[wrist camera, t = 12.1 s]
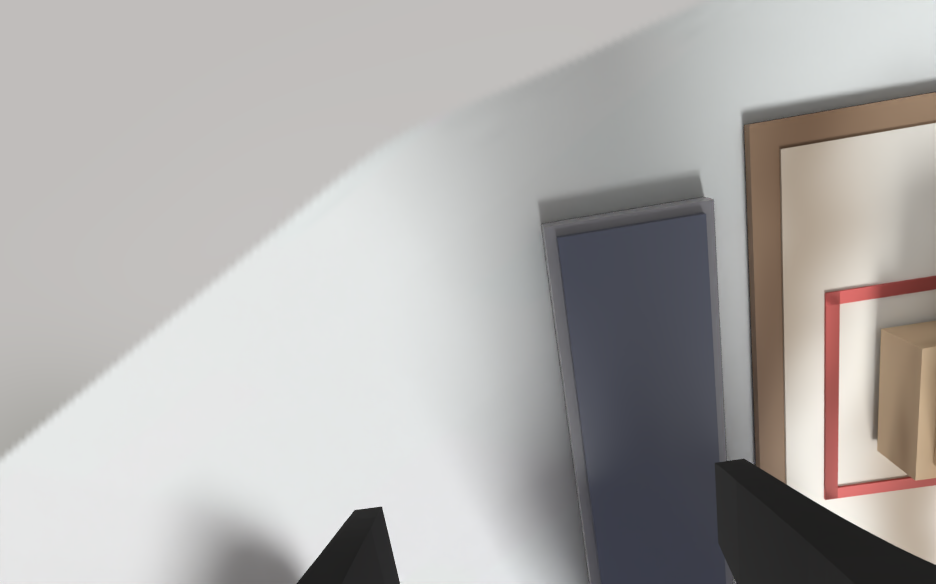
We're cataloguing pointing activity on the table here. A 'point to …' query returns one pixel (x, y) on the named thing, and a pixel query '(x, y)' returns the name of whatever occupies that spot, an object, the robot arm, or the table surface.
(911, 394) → the stamp
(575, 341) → the ink pad
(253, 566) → the table surface
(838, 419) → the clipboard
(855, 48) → the table surface
